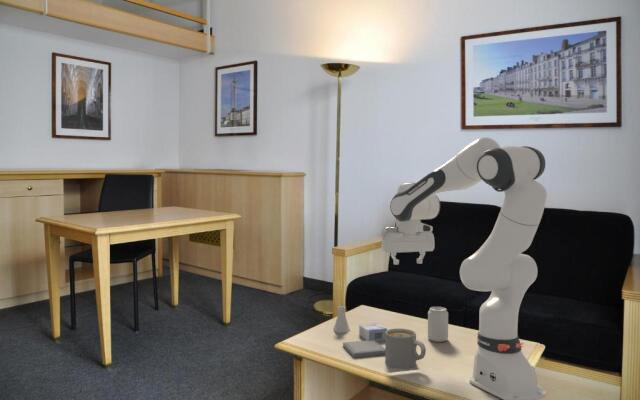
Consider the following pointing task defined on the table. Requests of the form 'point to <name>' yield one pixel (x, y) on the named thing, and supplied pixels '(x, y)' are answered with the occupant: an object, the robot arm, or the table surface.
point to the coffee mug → (402, 348)
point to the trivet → (364, 348)
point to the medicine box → (372, 332)
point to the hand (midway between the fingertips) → (407, 264)
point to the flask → (341, 321)
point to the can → (438, 324)
